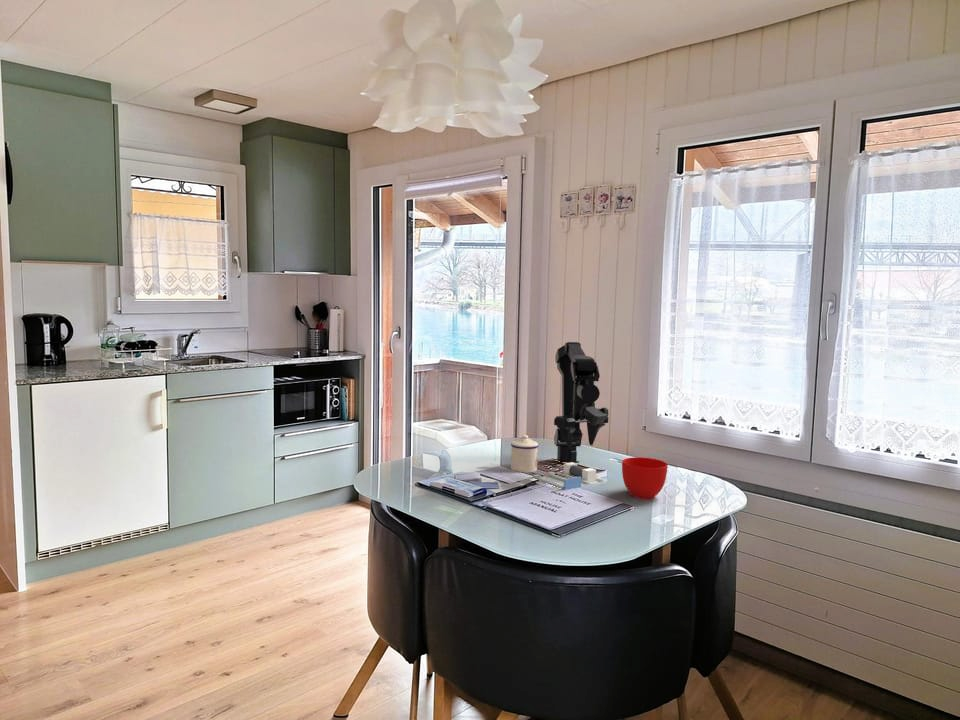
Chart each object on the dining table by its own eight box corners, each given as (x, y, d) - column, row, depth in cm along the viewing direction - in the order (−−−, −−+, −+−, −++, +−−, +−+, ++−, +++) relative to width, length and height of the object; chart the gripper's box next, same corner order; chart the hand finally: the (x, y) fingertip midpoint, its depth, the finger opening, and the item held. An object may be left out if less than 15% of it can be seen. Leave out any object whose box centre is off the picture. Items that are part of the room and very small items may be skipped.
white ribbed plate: (526, 480, 213) (526, 470, 212) (577, 471, 225) (578, 461, 225) (558, 492, 201) (558, 481, 200) (610, 482, 213) (611, 471, 213)
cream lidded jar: (542, 472, 223) (543, 437, 222) (516, 474, 220) (517, 439, 219) (527, 463, 234) (529, 430, 233) (503, 465, 231) (504, 431, 230)
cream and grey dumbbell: (563, 474, 220) (563, 463, 219) (571, 473, 222) (572, 462, 221) (587, 482, 211) (587, 471, 210) (595, 481, 213) (596, 469, 212)
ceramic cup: (666, 488, 208) (667, 456, 207) (665, 504, 191) (667, 469, 190) (622, 484, 211) (624, 452, 210) (619, 499, 195) (620, 465, 194)
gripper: (578, 403, 202) (576, 455, 203) (622, 399, 213) (620, 448, 214) (553, 398, 211) (552, 447, 212) (596, 394, 222) (594, 441, 223)
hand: (580, 446), depth 215 cm, fingers open, 9 cm apart
